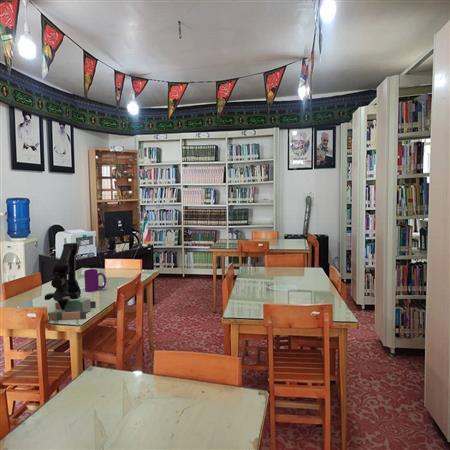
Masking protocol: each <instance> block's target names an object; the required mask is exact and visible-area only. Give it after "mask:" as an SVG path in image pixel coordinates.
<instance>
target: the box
mask: <svg viewBox="0 0 450 450" xmlns="http://www.w3.org/2000/svg"><path fill="white" fill-rule="evenodd" d="M90 301H91V298H85V297H83V298H82V297H79V298H78V299H71V298H70V299H69V300H68V302H67V304H66V306H65V309H64V312H85V311H86V313H89V312H90V311H92V308H91V304H90Z"/></svg>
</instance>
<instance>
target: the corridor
mask: <svg viewBox="0 0 450 450" xmlns="http://www.w3.org/2000/svg"><path fill="white" fill-rule="evenodd" d="M54 304H55V310H62V309H61V307H60V305H59V303H58V302H55V303H54ZM90 304H91V309H96V306H97V305H96V300H95V301H94V300H93V301H91V300H90ZM47 313H48V316H49V320H48V321H61V320H62V321H63V320H64V321H65V320H66V321H67V320H86V319H87V312H86V311H85V312H65V311H63V312H62V311H61V312H59V311H58V312H47Z"/></svg>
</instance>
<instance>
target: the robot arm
mask: <svg viewBox="0 0 450 450" xmlns="http://www.w3.org/2000/svg"><path fill="white" fill-rule="evenodd" d="M62 248H63V249H62V251H61V255H60V258H59V259H58V260H56V262H55V265H53V269H52V277H54V278H52V280H51V282H50V284H51V287H53V288H54V289H55V291H54V292H49V293H46V294H45V295H44V301H50V300H51V299H53V300H54V301H55V302H56V303H59V305H60V307H61V309H60V310H62V311H63V312H65V306H66V304H67V302H68V300H69V299H70V298H71V299H78V298H81V295H82V291H81V287H80V285H79V282H78V280H77V277H76V272H77V271H76V269H77V268H76V263H77V262H76V261H77V257H76V256H77V255H78V254H79V250H80V244H78V242H67V243H64V244H63V246H62ZM62 311H61V312H62Z"/></svg>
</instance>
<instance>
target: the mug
mask: <svg viewBox="0 0 450 450" xmlns="http://www.w3.org/2000/svg"><path fill="white" fill-rule="evenodd" d="M83 274H84V276H83V277H84V290H85V292H87V293H92V292H93V293H94V292H97V291H98V290H99V289H100V290H101V289H104V288H105V287H106V286H107V277H106V275H105V274H104V273H102V272H98V269H96V268H95V269H94V268H93V269H92V268H89V269H85V270H84V271H83ZM99 276H102V278H103V285H100V284H99V283H100V282H99V281H100V280H99Z"/></svg>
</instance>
